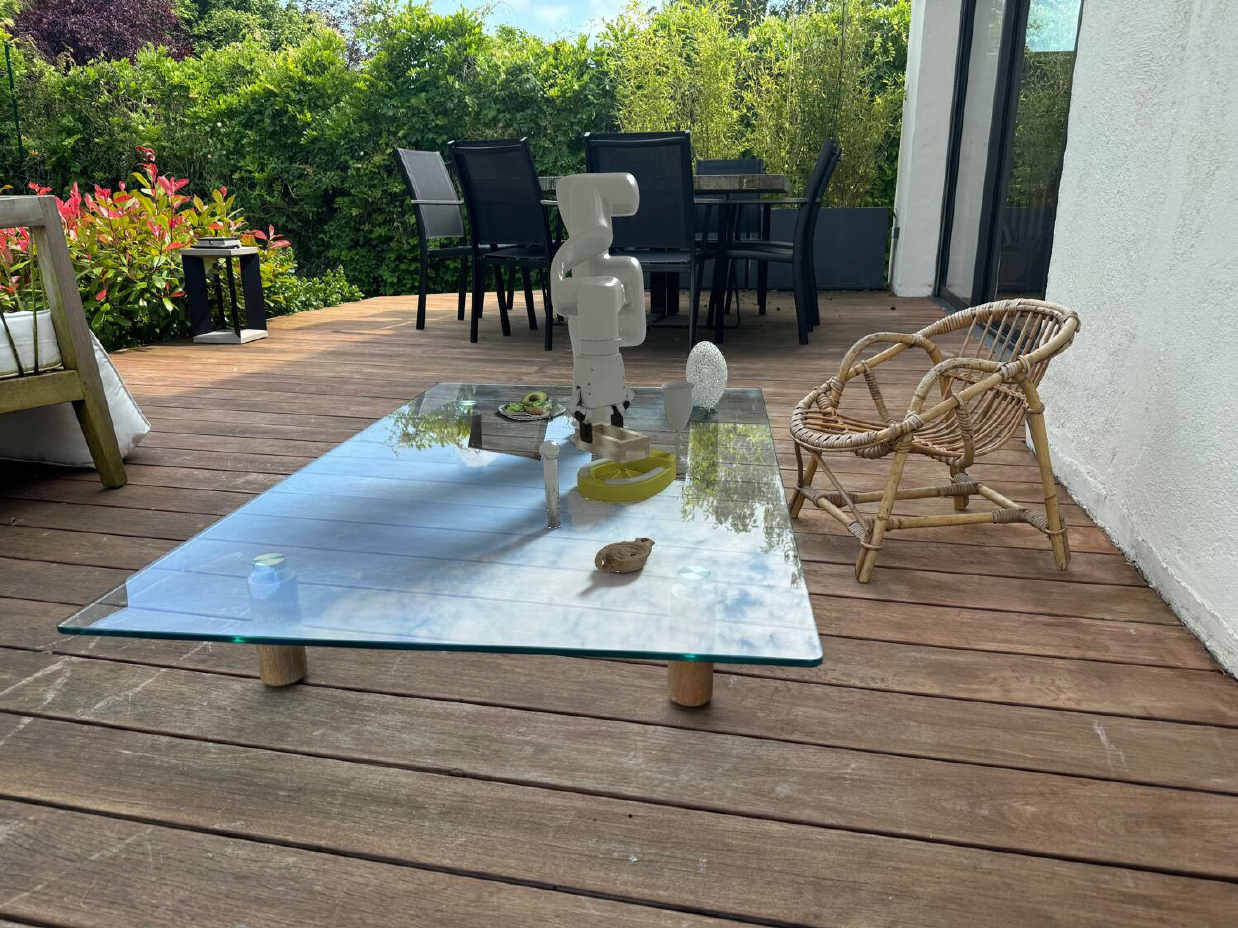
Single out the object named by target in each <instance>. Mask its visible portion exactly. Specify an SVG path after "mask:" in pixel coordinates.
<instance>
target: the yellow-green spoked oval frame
mask: <svg viewBox="0 0 1238 928" xmlns="http://www.w3.org/2000/svg"><path fill="white" fill-rule="evenodd" d="M676 478H677V473H676V454H673V453H670V452H666V451H663V450H662V451H661V450H659V449H653V448H650V457H647V458H643V459H640V460H636V461H632V462H628V463H624V464H620V463H617V462H614V461H612V460H609V459H606V458H603V457H602V458H598V459H595V460H593V461H589V462H587V463H585V464H584V465H582V466H581V467H580V469H578V472H577V474H576V481H577V492H578V494H579V495H580V496H581V497H583V498H585V499H587V500H590V501H594V502H598V503H605V504H606V503H607V504H609V503H610V504H624V503H633V502H639V501H644V500H647V499H650V498H652V497H654V496H656V495H658V494H660V493H662V492H663V491H664V490H665V489H667V488H668V487H669V486H670V485H671V484H672V483H673V482H674V481H675V479H676Z"/></svg>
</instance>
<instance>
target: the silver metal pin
mask: <svg viewBox="0 0 1238 928" xmlns="http://www.w3.org/2000/svg"><path fill="white" fill-rule="evenodd" d="M538 451H539V455H540V457H541V459H543V460H542V461H543V474H544V475H543V476H544V477H543V478H544V492H545V507H546V508H545V510H546V512H545V513H546V527H547V526H548V527H551V528H555V527H559V526H560V525H561V526H562V523H561V503H560V502H561V501H560V487H559V486H560V483H559V467H558V466H559V465H558V458H559V456H560V455H561V447H560V445H559V443H558V442H556V441H555V440H553V439H547V440H544V441H543V442H542V443H541V444H540V445H539V449H538ZM548 527H547V528H548ZM559 528H560V527H559Z"/></svg>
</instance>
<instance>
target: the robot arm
mask: <svg viewBox="0 0 1238 928" xmlns="http://www.w3.org/2000/svg"><path fill="white" fill-rule="evenodd" d="M555 190H556V192H555V195H556V201H557V205H558V206H557V207H558V210H559V214H560V216H561V219H562V222H563V224H564V226H565V228H566V231H567V233H568V236H569V237H568V238H567V239H566V240H565V242H564V243H562V245H561V246H560V247H559V249H557V252H556V253H555V255H554V257H553V258H552V259H553V260H552V262H551V268H550V296H551V297H550V298H551V305H552V307H553V310H554V312H555V313H556V314H558V315H559V316H560V317H568V319H567V320H568V321H567V325H568V326H567V327H568V333H569V337H570V343H571V350H572V358H573V370H572V387H571V388H572V394H571V397H569V399H568V400H567V402H566V403H565V404H564V407H565V408H566V411H568V412H569V414H571V416H572V417H573V418H574V419H575V420H572V421H571V426H572V427H574V428H576V427H579V429H580V438H581V441H583V442H586V443H588V444H590V443H592V424H595V423H599V422H605V423H608V424H611V425H614V426H617V427H621V428H624V429H625V427H624V417H625V416H626V413H627V410H628V408H629V407H630V405H631V402H632V401H633V400H634V398H635V395H636V393H635V391H633V390H632V389H631V388H630V387H628V385H627V382H626V381H627V379H626V372H625V365H624V361H623V356H622V353H621V352H620V347H635V346H636V347H637V346H639V345H641V344H642V343H643V342H644V340H645V338H646V334H647V323H646V322H647V318H646V305H645V304H646V302H645V287H644V285H645V284H644V274H643V270H642V265H641V263H640V262H639V260H638V259H637V258H636V257H634V256H631V255H629V256H628V255H619V256H618V255H616V256H615V255H614V256H613V255H610V254H609V248H610V247H611V245H612V242H613V241H614V240H613V239H614V235H613V232H614V231H613V223H612V217H627V216H628V217H629V216H635V214H636V213H637V212H638V210H639V206H640V205H639V204H640V192H639V190H640V189H639V185H638V182H637V180H636V178H635V177H634V175H632V174H631V173H629V172H604V173H603V172H601V173H600V172H599V173H598V172H594V173H592V172H591V173H589V172H588V173H576V174H569V175H565V176H563V177H562V178H560V179H559V180H557V183H556V188H555ZM570 270H571V276H569V277H566V274H567V273H568V272H569V271H570ZM570 441H571V443H572V444H573V445H575V432H573V434H571V437H570Z"/></svg>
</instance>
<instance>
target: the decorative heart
mask: <svg viewBox="0 0 1238 928" xmlns="http://www.w3.org/2000/svg"><path fill="white" fill-rule="evenodd" d="M685 367H686V368H685V379H686V381H685V382H690V383H693V384H694V385H695V386H694V388H693V391H692V401H693V402H695V403H696V404H697V405H698V406H699V407H700V408H702V407H707V408H706V410H707V409H708V413H709V412H710V413H711V408H712V407H714V406H715V405H716V404H717V403H719V401H720V400H721V398H722V397H723V395H724V393H725V390H726V387H727V384H728V383H727V382H728V368H727V362H726V359H725V357H724V355H722V353H721V351H720V350H719V348H718V347H717V346H716V345H715V344H713V342H710V341H705V340H704V341H701V342H698V343H697V344H695V346H693V348H692V349H691V350H690V353H689V355H688V358H687V361H686V366H685ZM705 404H706V406H705ZM708 407H709V408H708Z"/></svg>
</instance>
